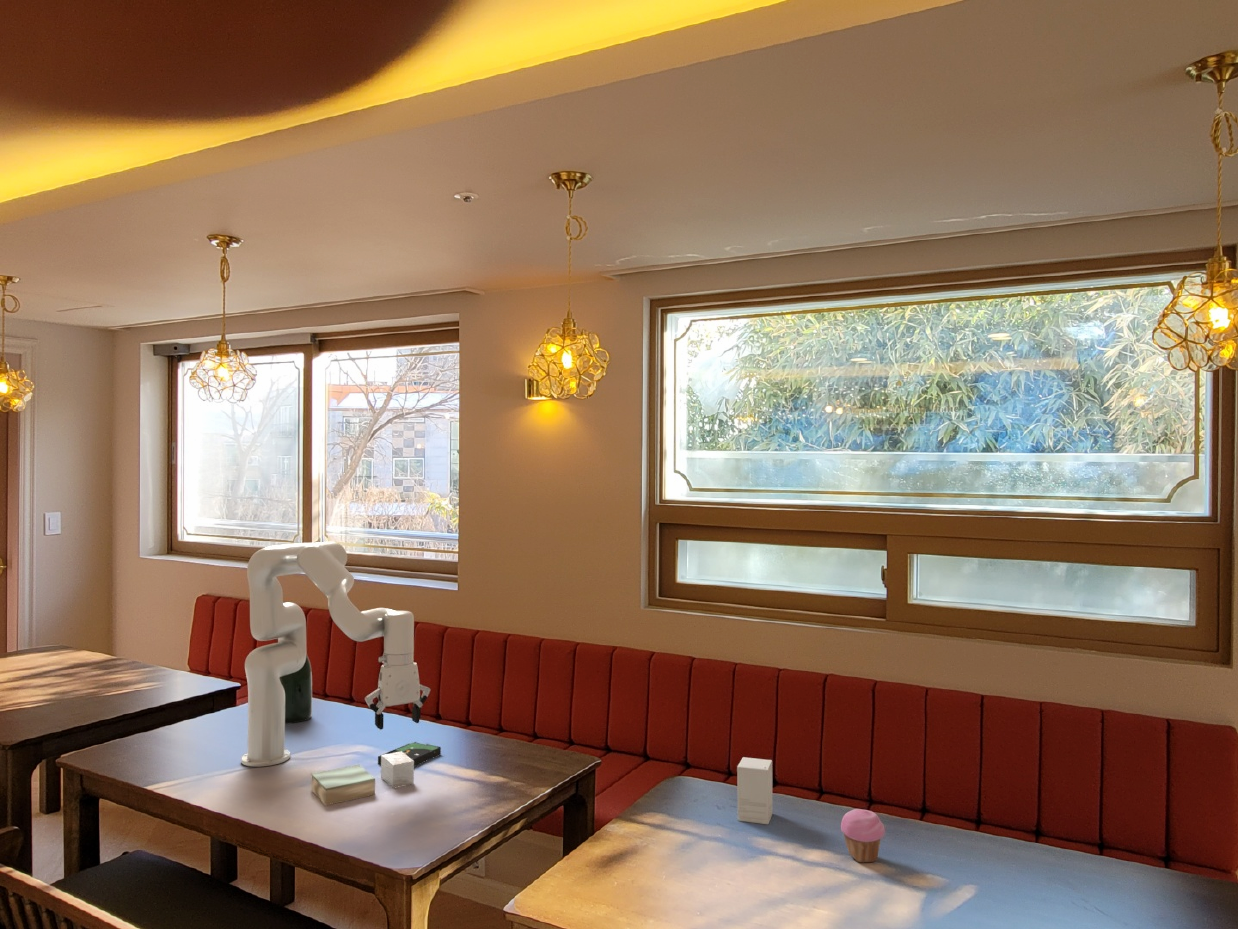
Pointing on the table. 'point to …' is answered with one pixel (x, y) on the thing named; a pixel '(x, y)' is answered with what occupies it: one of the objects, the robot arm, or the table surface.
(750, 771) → the supplement box
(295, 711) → the beer bottle
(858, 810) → the cupcake
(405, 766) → the block
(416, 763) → the disk drive
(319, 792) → the stand
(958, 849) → the table surface
